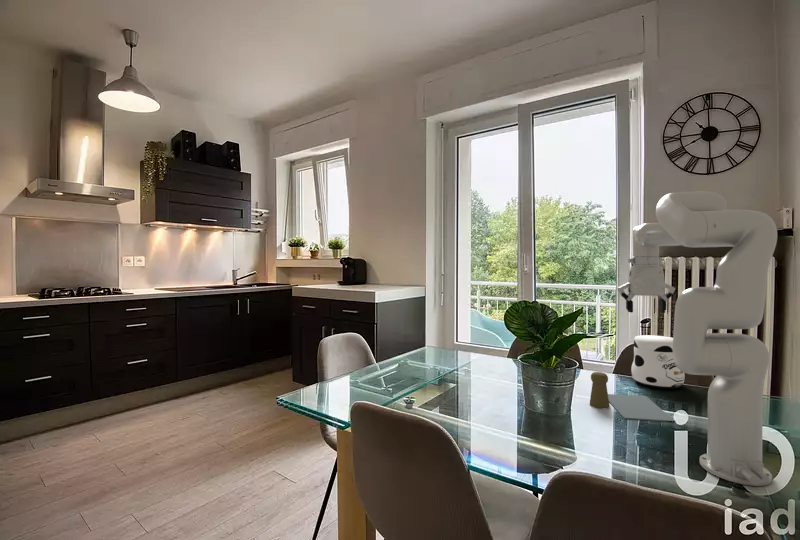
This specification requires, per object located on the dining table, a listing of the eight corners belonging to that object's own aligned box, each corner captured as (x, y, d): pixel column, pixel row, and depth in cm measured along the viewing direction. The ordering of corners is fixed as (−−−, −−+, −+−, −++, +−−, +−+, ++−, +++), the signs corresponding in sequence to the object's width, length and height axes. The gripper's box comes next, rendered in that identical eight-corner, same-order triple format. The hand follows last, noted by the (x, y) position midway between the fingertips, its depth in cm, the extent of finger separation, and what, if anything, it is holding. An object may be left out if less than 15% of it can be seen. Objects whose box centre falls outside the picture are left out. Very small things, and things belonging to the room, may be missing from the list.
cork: (612, 409, 128) (612, 375, 127) (592, 408, 129) (592, 374, 129) (606, 402, 134) (606, 370, 133) (587, 401, 135) (587, 370, 135)
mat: (675, 422, 117) (675, 420, 117) (624, 418, 120) (624, 417, 120) (645, 397, 138) (645, 396, 138) (602, 394, 141) (602, 393, 141)
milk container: (687, 395, 140) (686, 345, 139) (631, 387, 149) (630, 340, 149) (682, 382, 155) (682, 336, 154) (631, 376, 164) (631, 333, 163)
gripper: (621, 262, 131) (621, 313, 131) (679, 261, 127) (680, 314, 127) (614, 262, 138) (614, 310, 138) (669, 261, 134) (669, 311, 134)
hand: (645, 312), depth 133 cm, fingers open, 9 cm apart
